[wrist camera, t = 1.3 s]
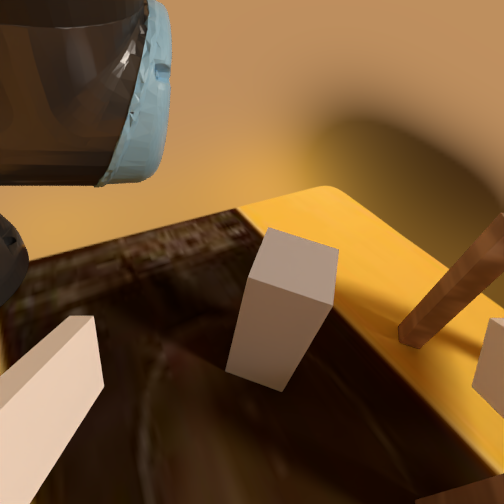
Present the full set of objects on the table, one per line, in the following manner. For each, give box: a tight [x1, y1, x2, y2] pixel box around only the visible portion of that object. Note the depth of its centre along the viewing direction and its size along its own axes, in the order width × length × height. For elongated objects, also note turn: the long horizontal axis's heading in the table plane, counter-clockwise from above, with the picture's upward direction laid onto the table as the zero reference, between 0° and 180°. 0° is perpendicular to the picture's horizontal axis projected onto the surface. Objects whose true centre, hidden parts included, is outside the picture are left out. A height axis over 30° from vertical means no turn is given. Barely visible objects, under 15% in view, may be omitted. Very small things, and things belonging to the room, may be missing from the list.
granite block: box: [225, 227, 339, 392], centre depth 23 cm, size 5×5×12 cm
